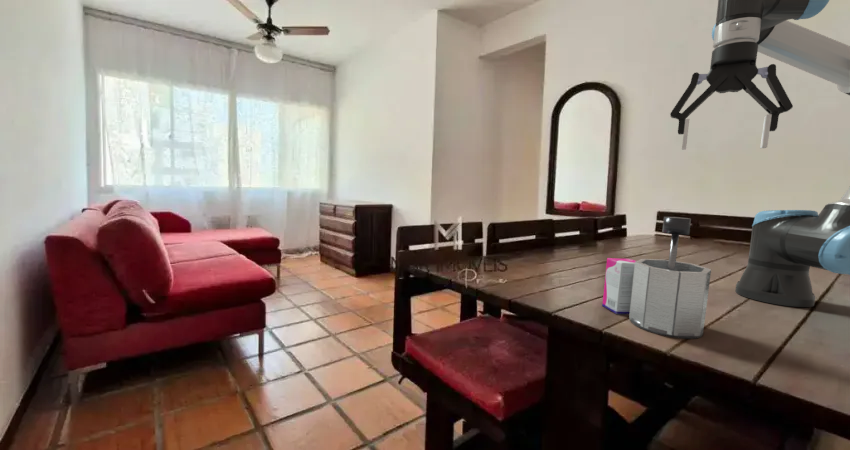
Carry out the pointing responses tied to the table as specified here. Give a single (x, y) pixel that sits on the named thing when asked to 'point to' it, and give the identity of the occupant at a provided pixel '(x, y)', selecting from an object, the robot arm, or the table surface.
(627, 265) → the supplement box
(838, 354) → the table surface
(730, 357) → the table surface
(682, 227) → the plunger
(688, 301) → the press body
